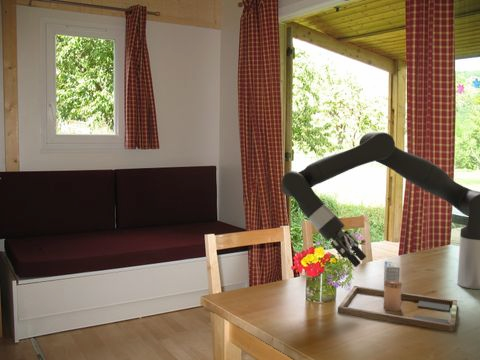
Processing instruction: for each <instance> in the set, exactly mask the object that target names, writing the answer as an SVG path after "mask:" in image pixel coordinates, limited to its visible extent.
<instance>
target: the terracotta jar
mask: <svg viewBox="0 0 480 360" xmlns="http://www.w3.org/2000/svg"><path fill="white" fill-rule="evenodd" d="M402 287H403V282H401V281H400V280H399V281H396V280H386V281H385V286H384V289H383V290H384V296H383V308H384V309H385V310H386V311H391V312H398V311H400V310H401V308H402V307H401V305H402V299H401V293H402V291H403V290H402Z"/></svg>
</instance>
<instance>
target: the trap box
mask: <svg viewBox="0 0 480 360" xmlns="http://www.w3.org/2000/svg"><path fill="white" fill-rule="evenodd" d="M357 293H360V294H361V293H362V294H368V295H376V296H382V297H384V289H378V288H373V287H371V288H370V287H364V286H358V285H354V286H353V287H352V289H351V290H350V291H348V294H346V296H345V297H344V298H343V300H342V302H340V304H339V305H338V307H337V313H338V314H339V313H340V314H345V315H350V316H351V315H352V316H357V317H364V318H369V319H375V320H381V321H386V322H392V323H398V324H404V325H405V324H406V325H411V326H418V327H422V328H423V327H424V328H429V329H435V330H440V331H447V332H453V333H455V328H456V320H457V319H456V318H457V311H458V308H457V307H458V300H455V299H450V298H449V299H448V298H441V297H435V296H428V295H427V296H426V295H422V294H421V295H420V294H414V293H409V292H408V293H406V292H401V300H402V299H403V300H408V301H415V302H419V300H424V301H430V302H437V303H444V304H450V307H451V313H450V323H449V322H448V323H441V322H435V321H429V320H423V319H417V318H414V317H410V316H409V317H408V316H403V315H397V314H392V313H385V312H377V311H374V310H373V311H372V310H367V309H362V308H361V309H360V308H354V307H348V305H349V304H350V302H351V301H352V300H353V299H354V297H355V295H356V294H357Z"/></svg>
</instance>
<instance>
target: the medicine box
mask: <svg viewBox="0 0 480 360" xmlns="http://www.w3.org/2000/svg"><path fill="white" fill-rule="evenodd" d="M400 272H401V268H400V265H399V263H398V262H397V261H388V260H387V261H384V271H383V273H384V275H383V286H384V287H385V281H386V280H396V281H399V282H400V278H401V277H400V275H401V274H400Z"/></svg>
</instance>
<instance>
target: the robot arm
mask: <svg viewBox="0 0 480 360" xmlns="http://www.w3.org/2000/svg"><path fill="white" fill-rule="evenodd" d="M372 162H376V163H378V164H381V165H383V166H385V167H387V168H389V169H390V170H392V171H394V172H396V174H398V175H399V176H401V177H403V178H404V179H405V180H407V181H408V182H410V183H412V184H413V185H414V186H416V187H419V188H420V189H421V190H423V191H425V192H427V193H429V194H431V195H433V196H435V197H437V198H440V199H442V200H444V201H445V202H446V203H448V204H450V205H451V206H453V207H454V208H455V209H457V210H458V211H459V212H460V213H462V215H464V216H467V217H468V218H467V225H466V226H463V227H461V229H460V234H459V251H458V266H457V267H458V269H457V285H458V286H460V287H462V288H467V289H472V290H480V191H478V190H473V189H470V188H468V187H465V186H463V185H462V184H459V183H457V182H456V181H455V180H453V179H452V177H450V175H449V174H448V173H447V172H446V171H445V170H444V169H443V168H441V167H440V166H438V165H436V164H435V163H433V162H431V161H429V160H428V159H425V158H423V157H421V156H419V155H416V154H413V153H409V152H408V151H405V150H402V149H400V148H399V147H397V146H396V142H395V139H394V138H393V136H392V135H391V134H389V133H388V132H385V131H371V132H368V133H365V134H364V135H362V136H361V138H360V139H359V145H357V146H355V147H351V148H350V149H347V150H343V151H341V152H338V153H335V154H332V155H328V156H325V157H323V158H321V159H319V160H316V161H315V162H312V163H310V164H308V165H307V166H306V167H305V168H304V169H303V170H300V171H295V170H289V171H287V172H286V173H285V174H284V175H283V176H282V179H281V183H280V190H281V192H282V193H283V194H284V195H285V196H287V197H292V198H293V199H294V200H295V201H296V202H297V205H298V208H299V210H300V211H301V212H302V213H303V214H304V216H305V217H306V218H307V219H308V220H309V222H310V223H311V224H312V226H313V227H314V229H316V230H317V232H319V234H320V235H321V236H322V237H323V238H324V239H325V241H327V242H328V241H330V240H331V239H332V241H331V242H330V244H331V246H332V247H333V248H334V250H336V251H337V253H338V254H339V256H341V258H342V259H344V258H346V259H347V260H348V261H349V262H350V264H351V265H352V266H353V267H354V268H355V267H356V268H357V267H358V266H359V265H361V261H363V260H364V259H366V258H367V255H366V253H365V252H363V250H361V248H360V246H359V243H360V242H358V241H357V239H355V238H354V236H352V235H351V233H350V232H349V231H348V230H345V231H343V230H342V229H344V228H345V224H344V223H343V221H341V219H340V218H339V217H338V215H336V214H335V212H333V211H332V209H331V208H330V207H329V206H328V205H326V204H325V203H324V202H323V200H322V199H321V198H320V197H319V196H318V195H317V194H316V193H315V191H314V190H313V188H312V187H315V186H317V185H319V184H321V183H324V182H326V181H328V180H331V179H333V178H336V177H337V176H339V175H341V174H343V173H346V172H348V171H350V170H353V169H355V168H357V167H361V166H362V165H366V164H369V163H372ZM355 253H356V255H355Z"/></svg>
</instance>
